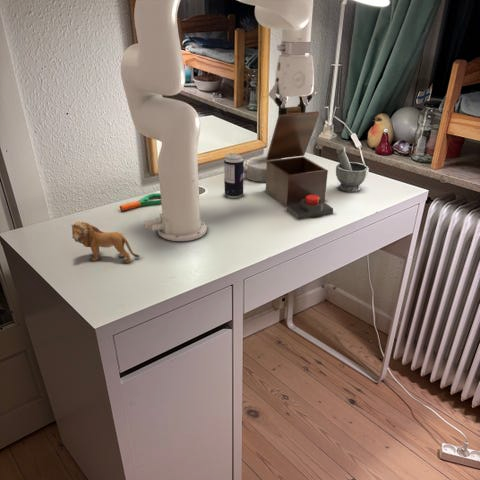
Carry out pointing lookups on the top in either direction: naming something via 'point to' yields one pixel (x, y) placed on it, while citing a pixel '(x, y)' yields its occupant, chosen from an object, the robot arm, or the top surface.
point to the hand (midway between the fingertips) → (291, 120)
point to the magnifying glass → (142, 202)
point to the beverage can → (233, 175)
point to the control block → (309, 209)
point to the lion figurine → (100, 239)
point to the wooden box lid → (292, 133)
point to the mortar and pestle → (350, 172)
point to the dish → (256, 168)
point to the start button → (312, 199)
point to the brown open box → (295, 179)
